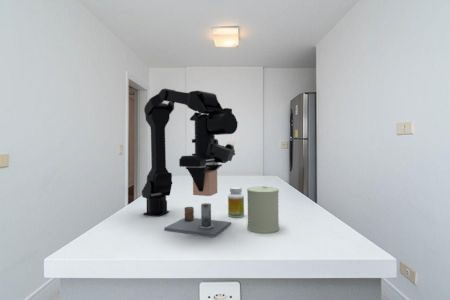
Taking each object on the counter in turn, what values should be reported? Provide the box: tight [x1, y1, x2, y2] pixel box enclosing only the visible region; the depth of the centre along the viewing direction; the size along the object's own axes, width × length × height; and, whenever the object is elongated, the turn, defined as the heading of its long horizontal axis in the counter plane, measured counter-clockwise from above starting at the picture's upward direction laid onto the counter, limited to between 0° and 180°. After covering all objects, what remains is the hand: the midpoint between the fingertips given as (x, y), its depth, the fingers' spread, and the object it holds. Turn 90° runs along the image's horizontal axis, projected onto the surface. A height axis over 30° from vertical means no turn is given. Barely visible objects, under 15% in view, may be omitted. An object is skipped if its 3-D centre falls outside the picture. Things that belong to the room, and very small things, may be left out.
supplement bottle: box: [227, 186, 245, 219], centre depth 90 cm, size 5×5×10 cm
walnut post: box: [184, 206, 195, 222], centre depth 83 cm, size 3×3×4 cm
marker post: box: [199, 202, 214, 229], centre depth 76 cm, size 4×4×6 cm
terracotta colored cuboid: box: [192, 170, 218, 197], centre depth 76 cm, size 5×5×7 cm
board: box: [163, 217, 232, 238], centre depth 78 cm, size 16×12×1 cm
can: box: [246, 186, 280, 234], centre depth 77 cm, size 9×9×12 cm
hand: (205, 189), depth 76 cm, fingers closed on terracotta colored cuboid, 5 cm apart
